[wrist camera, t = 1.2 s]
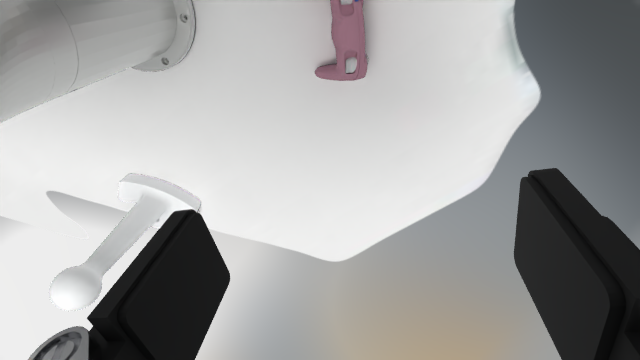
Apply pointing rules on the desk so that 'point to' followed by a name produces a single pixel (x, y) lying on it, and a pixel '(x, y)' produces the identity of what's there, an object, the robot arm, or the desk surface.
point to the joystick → (121, 237)
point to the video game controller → (347, 42)
